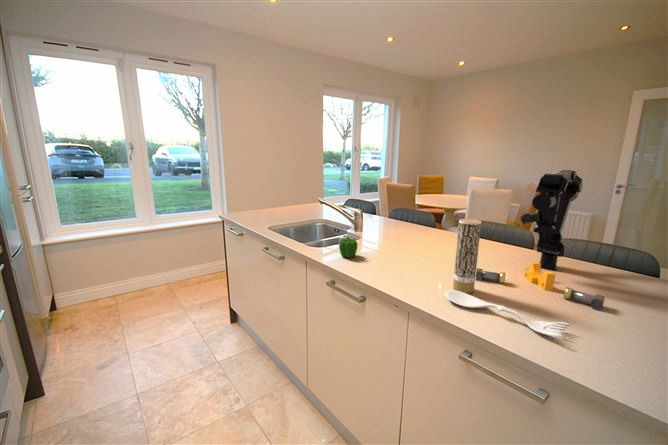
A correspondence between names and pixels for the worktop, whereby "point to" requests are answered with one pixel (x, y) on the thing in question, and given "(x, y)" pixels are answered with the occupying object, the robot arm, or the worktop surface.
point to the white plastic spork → (539, 326)
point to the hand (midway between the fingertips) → (541, 246)
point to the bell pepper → (348, 247)
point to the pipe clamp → (540, 276)
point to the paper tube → (466, 255)
